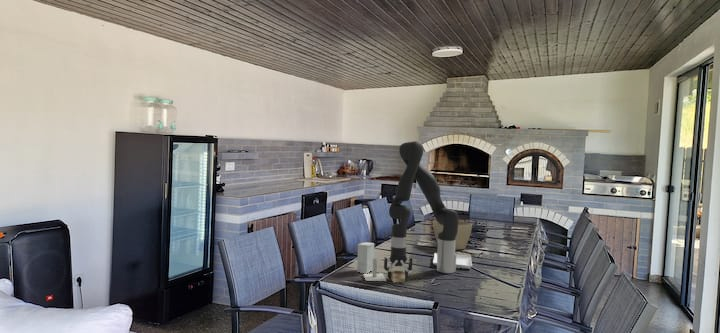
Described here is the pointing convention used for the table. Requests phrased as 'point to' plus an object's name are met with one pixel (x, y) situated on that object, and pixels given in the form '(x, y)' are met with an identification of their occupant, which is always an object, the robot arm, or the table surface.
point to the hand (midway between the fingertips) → (397, 278)
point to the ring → (398, 276)
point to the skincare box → (365, 257)
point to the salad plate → (458, 261)
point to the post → (374, 273)
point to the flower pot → (462, 233)
